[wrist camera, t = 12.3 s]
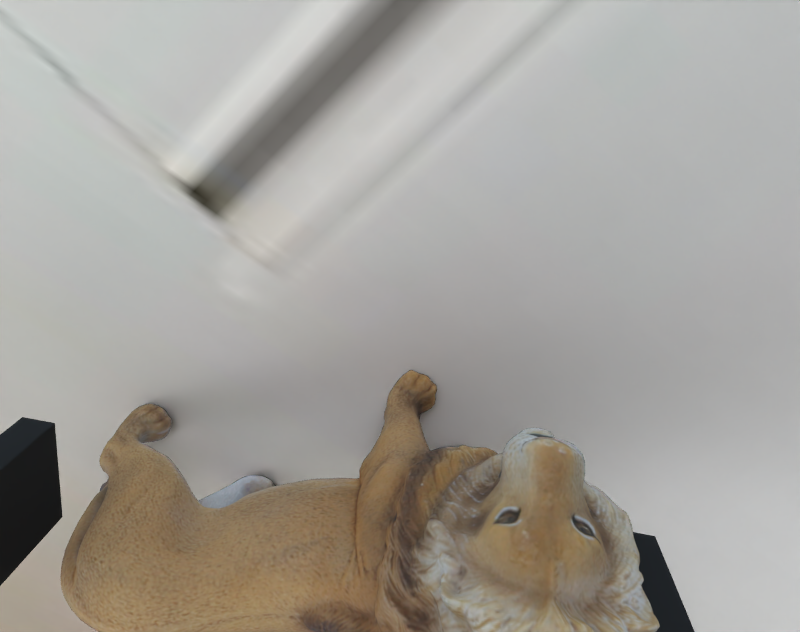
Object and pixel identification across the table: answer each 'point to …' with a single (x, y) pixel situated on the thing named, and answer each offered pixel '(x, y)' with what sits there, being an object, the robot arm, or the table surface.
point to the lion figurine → (358, 541)
